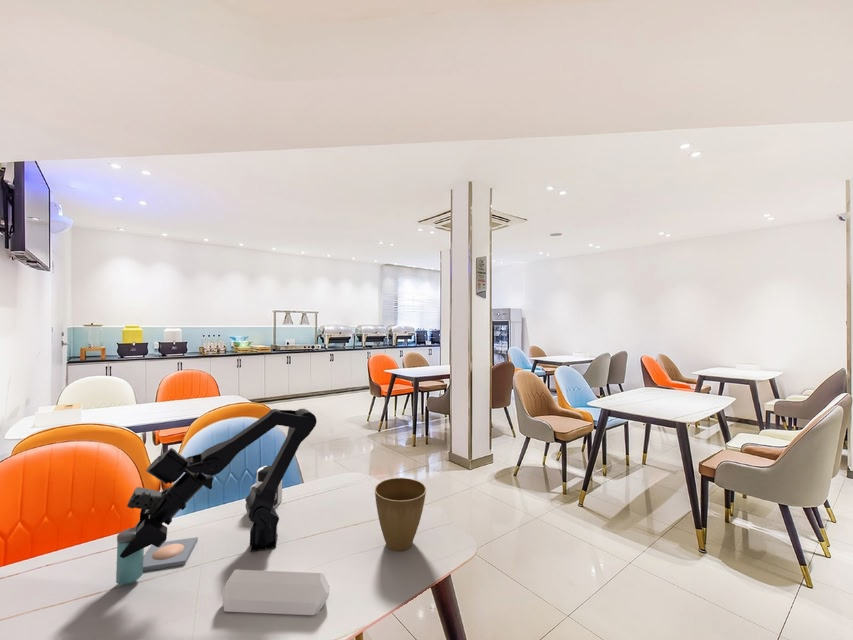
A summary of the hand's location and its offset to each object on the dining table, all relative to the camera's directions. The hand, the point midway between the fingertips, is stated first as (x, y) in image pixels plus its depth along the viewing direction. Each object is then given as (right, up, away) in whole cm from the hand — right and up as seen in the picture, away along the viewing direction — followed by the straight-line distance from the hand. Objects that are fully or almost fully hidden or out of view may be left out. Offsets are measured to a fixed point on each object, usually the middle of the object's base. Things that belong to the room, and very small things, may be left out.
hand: (123, 551), depth 86 cm
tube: (+1, -7, +1) cm, 7 cm away
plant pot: (+65, -10, +18) cm, 68 cm away
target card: (+3, -8, +11) cm, 14 cm away
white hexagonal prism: (+39, -9, -5) cm, 40 cm away
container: (+17, -10, +39) cm, 44 cm away
